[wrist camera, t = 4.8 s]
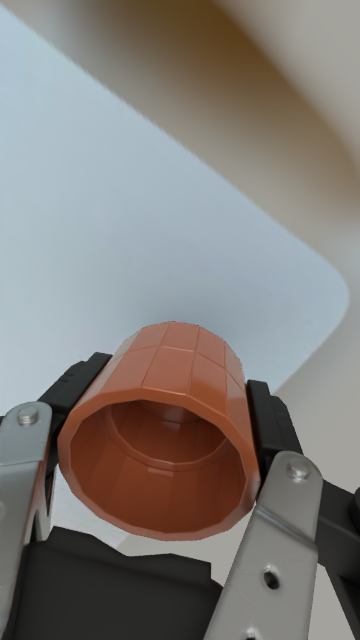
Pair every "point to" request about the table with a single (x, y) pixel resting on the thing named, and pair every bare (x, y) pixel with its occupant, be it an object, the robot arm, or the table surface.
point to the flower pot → (165, 437)
